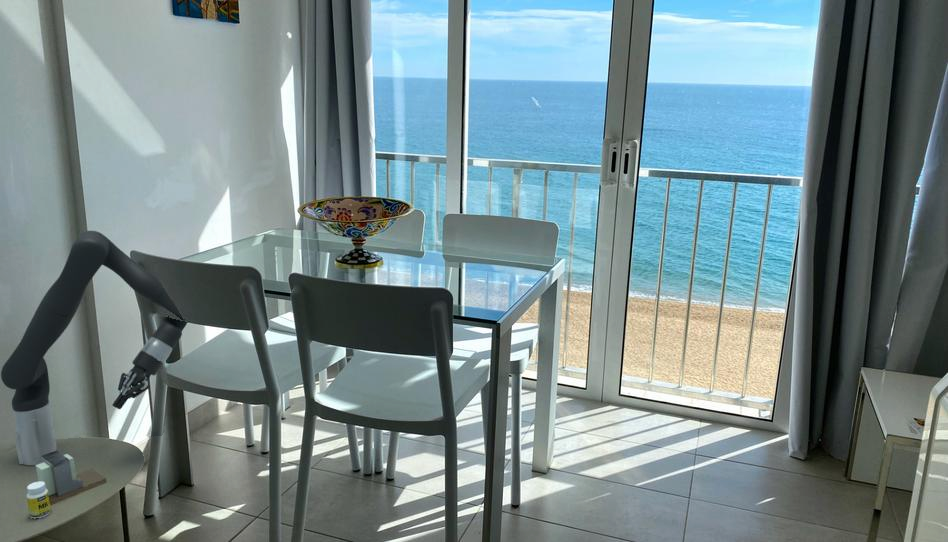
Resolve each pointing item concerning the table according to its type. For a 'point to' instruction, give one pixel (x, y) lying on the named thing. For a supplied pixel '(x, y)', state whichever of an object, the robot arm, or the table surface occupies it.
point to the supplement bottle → (38, 500)
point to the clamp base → (69, 477)
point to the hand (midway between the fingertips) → (116, 407)
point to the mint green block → (47, 476)
